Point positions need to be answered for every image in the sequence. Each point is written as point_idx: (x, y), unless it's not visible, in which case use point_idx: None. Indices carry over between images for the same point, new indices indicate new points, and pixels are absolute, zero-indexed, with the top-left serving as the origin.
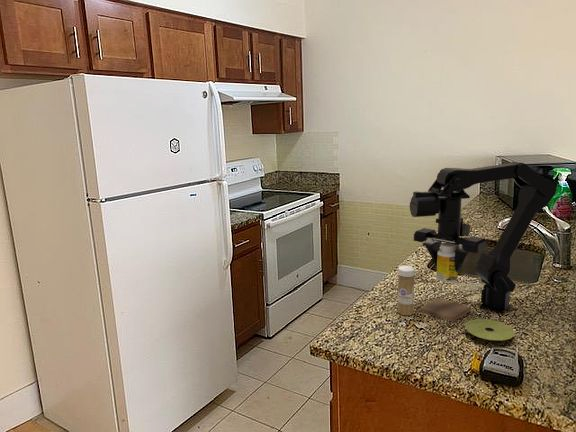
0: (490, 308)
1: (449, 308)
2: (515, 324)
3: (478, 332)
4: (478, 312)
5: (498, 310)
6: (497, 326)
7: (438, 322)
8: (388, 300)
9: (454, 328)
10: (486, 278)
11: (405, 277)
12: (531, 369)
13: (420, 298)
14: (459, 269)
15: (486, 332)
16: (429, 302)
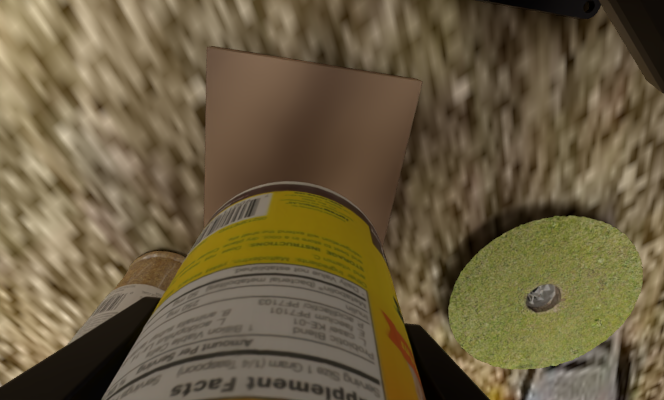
0: (526, 7)
1: (327, 168)
2: (642, 117)
3: (505, 340)
4: (460, 78)
5: (572, 10)
6: (575, 260)
7: None
8: (11, 205)
9: (398, 295)
10: (653, 78)
11: None
12: (649, 390)
13: (113, 76)
14: (430, 344)
15: (533, 327)
16: (205, 152)
